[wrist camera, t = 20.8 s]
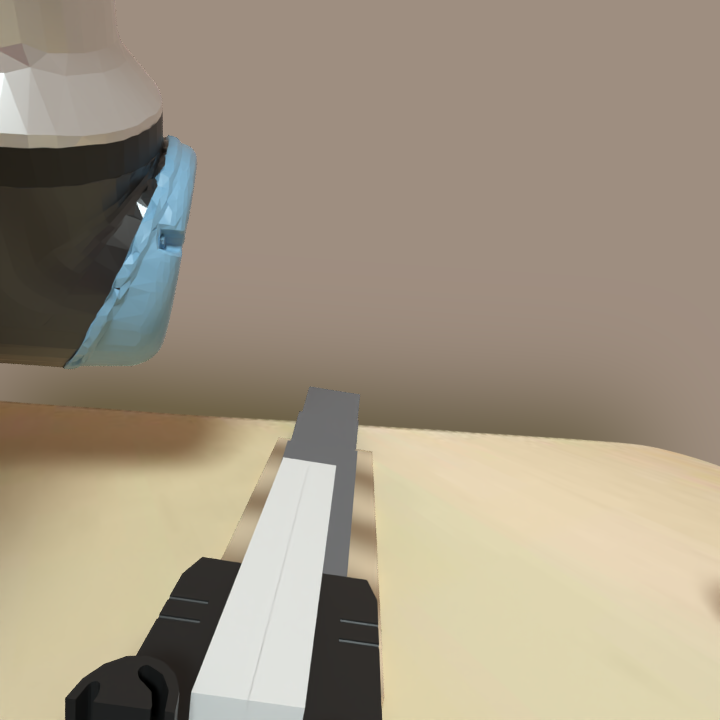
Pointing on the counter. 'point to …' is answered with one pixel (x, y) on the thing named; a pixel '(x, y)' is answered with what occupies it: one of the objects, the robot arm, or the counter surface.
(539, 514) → the counter surface
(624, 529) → the counter surface
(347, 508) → the domino
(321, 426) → the domino
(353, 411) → the domino
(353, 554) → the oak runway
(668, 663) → the counter surface
